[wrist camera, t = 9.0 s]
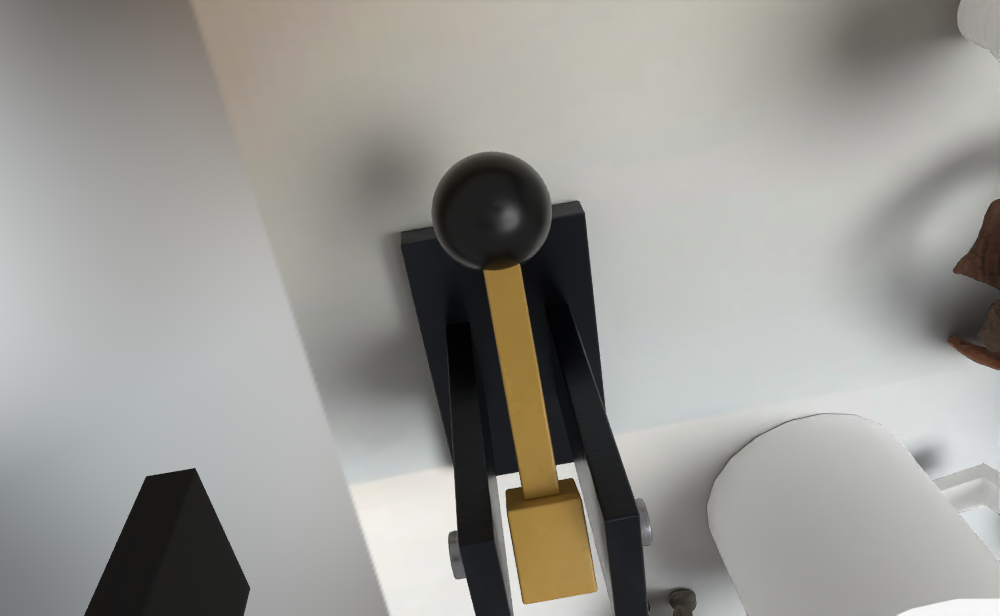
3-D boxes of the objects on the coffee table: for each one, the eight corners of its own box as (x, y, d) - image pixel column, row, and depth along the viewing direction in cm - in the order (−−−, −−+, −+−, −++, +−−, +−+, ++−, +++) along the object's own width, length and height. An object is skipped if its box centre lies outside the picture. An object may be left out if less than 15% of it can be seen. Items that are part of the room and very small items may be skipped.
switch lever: (427, 172, 25) (416, 154, 22) (537, 152, 25) (544, 131, 22) (498, 571, 26) (499, 618, 22) (606, 552, 26) (625, 596, 22)
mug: (967, 358, 36) (1156, 530, 27) (980, 508, 41) (1142, 696, 32) (684, 457, 37) (772, 653, 28) (730, 590, 42) (817, 793, 33)
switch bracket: (400, 231, 30) (390, 446, 19) (579, 200, 30) (670, 396, 19) (456, 465, 36) (472, 730, 25) (605, 438, 36) (686, 692, 25)
